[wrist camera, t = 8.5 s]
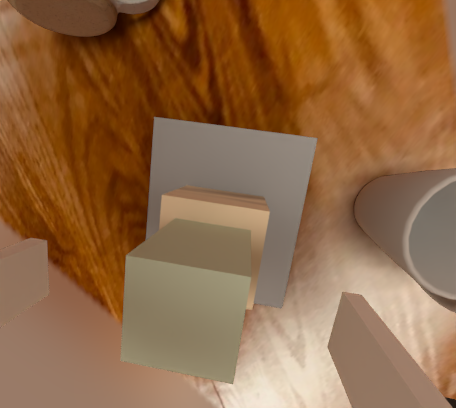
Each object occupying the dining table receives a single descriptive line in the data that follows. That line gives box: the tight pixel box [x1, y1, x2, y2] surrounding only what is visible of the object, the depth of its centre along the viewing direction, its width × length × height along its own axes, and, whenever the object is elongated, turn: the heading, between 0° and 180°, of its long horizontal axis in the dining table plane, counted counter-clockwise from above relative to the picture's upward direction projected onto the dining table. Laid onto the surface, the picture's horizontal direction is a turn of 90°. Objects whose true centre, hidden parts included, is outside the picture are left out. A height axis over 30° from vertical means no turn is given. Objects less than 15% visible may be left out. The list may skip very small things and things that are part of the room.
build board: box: [146, 117, 317, 308], centre depth 21 cm, size 16×14×1 cm
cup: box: [354, 168, 456, 313], centre depth 16 cm, size 8×10×8 cm
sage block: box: [121, 218, 251, 384], centre depth 12 cm, size 5×5×6 cm
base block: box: [159, 185, 270, 310], centre depth 18 cm, size 7×7×6 cm
